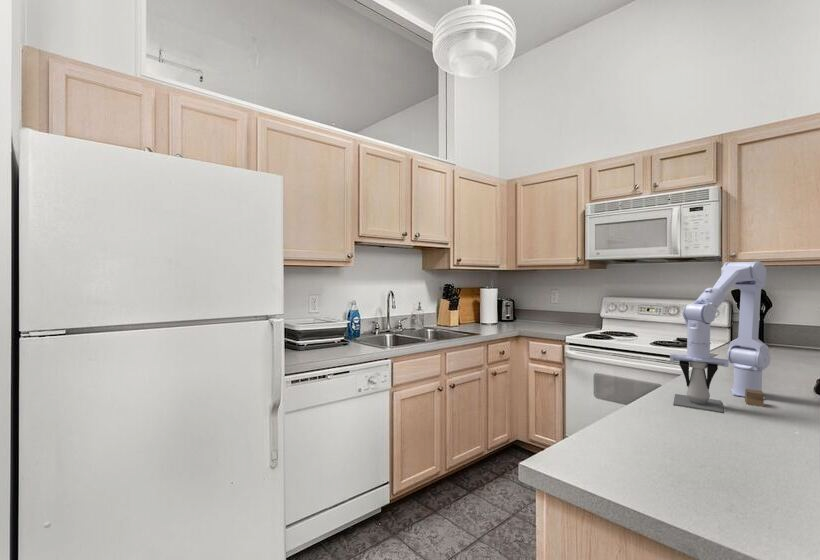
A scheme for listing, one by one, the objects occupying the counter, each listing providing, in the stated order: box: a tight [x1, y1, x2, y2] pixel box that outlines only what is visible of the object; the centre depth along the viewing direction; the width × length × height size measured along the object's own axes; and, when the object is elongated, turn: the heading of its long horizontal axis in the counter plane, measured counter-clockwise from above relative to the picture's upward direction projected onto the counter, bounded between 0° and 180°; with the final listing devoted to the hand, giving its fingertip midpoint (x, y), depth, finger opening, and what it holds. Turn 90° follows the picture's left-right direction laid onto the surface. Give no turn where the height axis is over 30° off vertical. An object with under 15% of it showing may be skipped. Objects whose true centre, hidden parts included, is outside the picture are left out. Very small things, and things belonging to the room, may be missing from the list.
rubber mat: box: [672, 393, 724, 414], centre depth 125 cm, size 13×12×1 cm
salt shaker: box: [686, 360, 711, 405], centre depth 124 cm, size 6×6×13 cm
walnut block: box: [744, 389, 765, 408], centre depth 125 cm, size 4×4×4 cm
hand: (697, 387), depth 125 cm, fingers open, 4 cm apart
